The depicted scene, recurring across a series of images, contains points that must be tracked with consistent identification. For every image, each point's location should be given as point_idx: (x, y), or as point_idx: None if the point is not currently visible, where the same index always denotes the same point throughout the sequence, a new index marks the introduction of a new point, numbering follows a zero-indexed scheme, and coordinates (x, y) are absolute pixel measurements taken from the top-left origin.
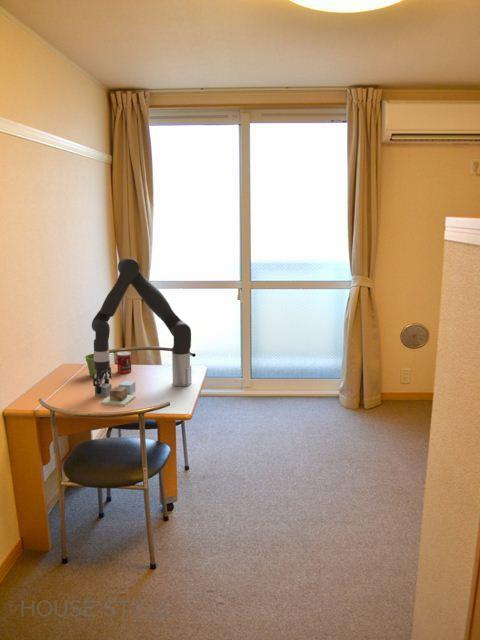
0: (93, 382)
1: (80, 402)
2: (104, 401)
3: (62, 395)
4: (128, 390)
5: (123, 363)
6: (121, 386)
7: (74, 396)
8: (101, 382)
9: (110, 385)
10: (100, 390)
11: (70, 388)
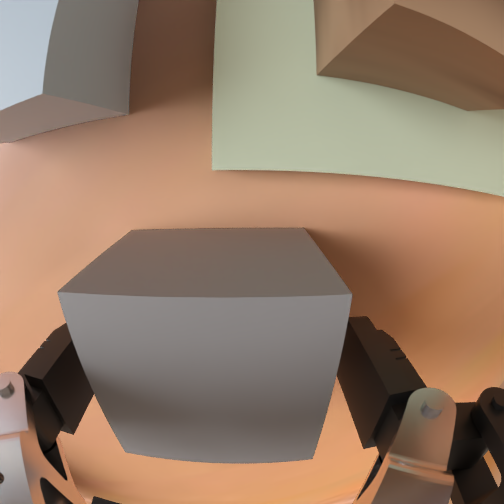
0: (490, 485)
1: (443, 377)
2: (496, 166)
3: (306, 494)
4: None
5: None
6: (70, 47)
7: (318, 462)
8: (404, 460)
9: (108, 283)
10: (382, 342)
11: (185, 501)
